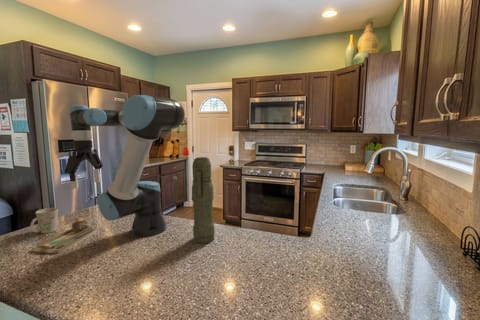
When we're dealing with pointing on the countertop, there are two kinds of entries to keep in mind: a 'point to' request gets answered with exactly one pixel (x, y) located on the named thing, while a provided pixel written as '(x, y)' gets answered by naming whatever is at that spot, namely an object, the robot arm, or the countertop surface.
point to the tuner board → (63, 241)
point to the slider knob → (79, 225)
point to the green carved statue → (202, 201)
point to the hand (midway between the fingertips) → (86, 185)
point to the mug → (46, 220)
